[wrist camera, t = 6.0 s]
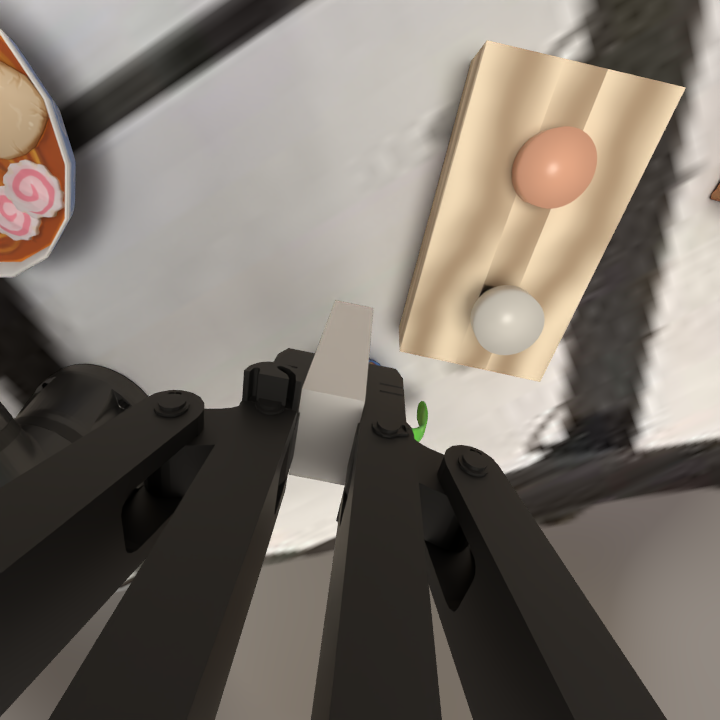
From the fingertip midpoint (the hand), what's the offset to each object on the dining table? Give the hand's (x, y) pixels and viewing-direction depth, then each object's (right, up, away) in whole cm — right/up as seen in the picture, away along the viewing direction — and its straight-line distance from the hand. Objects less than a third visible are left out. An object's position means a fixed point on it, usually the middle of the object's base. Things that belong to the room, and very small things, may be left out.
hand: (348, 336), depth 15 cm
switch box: (+14, +12, +22) cm, 28 cm away
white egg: (+13, +5, +20) cm, 24 cm away
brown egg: (+15, +15, +18) cm, 28 cm away
